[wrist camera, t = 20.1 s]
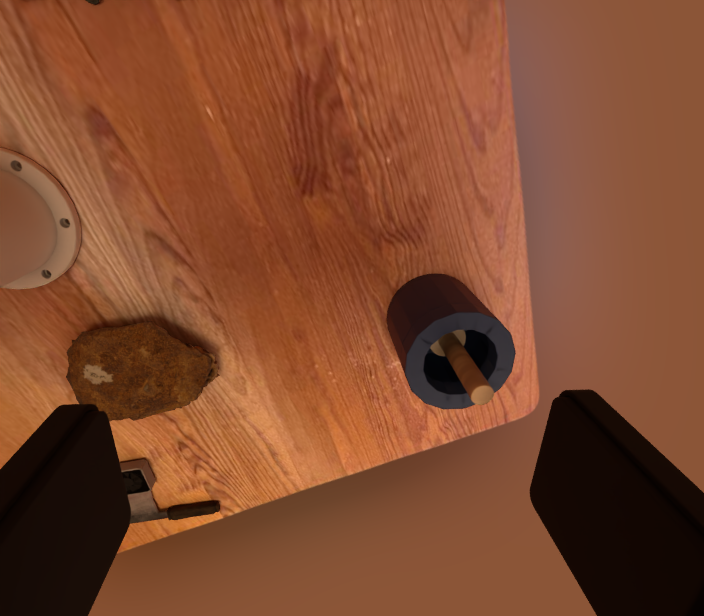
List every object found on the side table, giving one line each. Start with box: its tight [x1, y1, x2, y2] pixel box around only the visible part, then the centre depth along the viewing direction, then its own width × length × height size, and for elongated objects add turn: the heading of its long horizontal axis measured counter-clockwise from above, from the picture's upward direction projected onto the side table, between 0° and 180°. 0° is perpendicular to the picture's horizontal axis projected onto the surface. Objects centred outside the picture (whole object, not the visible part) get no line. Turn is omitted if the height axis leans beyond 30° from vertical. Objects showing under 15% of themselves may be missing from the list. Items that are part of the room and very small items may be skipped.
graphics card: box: [120, 459, 156, 496], centre depth 49 cm, size 12×3×5 cm
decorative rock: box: [66, 322, 219, 421], centre depth 43 cm, size 11×4×15 cm
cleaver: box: [128, 491, 220, 524], centre depth 52 cm, size 16×1×5 cm
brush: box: [430, 330, 494, 405], centre depth 38 cm, size 4×4×14 cm
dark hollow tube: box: [387, 274, 515, 409], centre depth 41 cm, size 10×10×10 cm
